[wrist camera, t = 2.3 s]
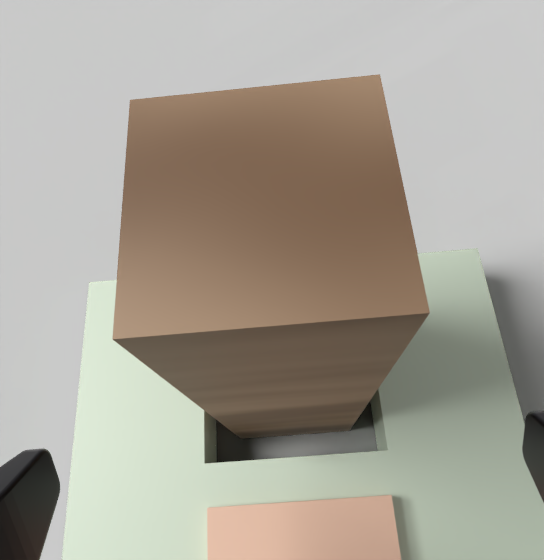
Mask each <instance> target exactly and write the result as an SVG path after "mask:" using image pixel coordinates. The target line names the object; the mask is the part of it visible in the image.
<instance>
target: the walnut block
mask: <svg viewBox="0 0 544 560" xmlns="http://www.w3.org/2000/svg"><path fill="white" fill-rule="evenodd" d="M429 314H430V311H429V306H428V301H427V296H426V292H425V287H424V282H423V277H422V273H421V268H420V263H419V258H418V254H417V249H416V244H415V239H414V235H413V230H412V225H411V220H410V216H409V211H408V206H407V201H406V197H405V192H404V187H403V182H402V178H401V173H400V168H399V163H398V158H397V154H396V149H395V144H394V139H393V135H392V130H391V125H390V120H389V116H388V111H387V106H386V101H385V97H384V92H383V87H382V82H381V78H380V75H370V76H361V77H351V78H341V79H331V80H321V81H312V82H302V83H292V84H282V85H272V86H263V87H253V88H243V89H233V90H223V91H214V92H204V93H194V94H184V95H174V96H165V97H155V98H145V99H135V100H130V108H129V121H128V135H127V148H126V162H125V175H124V189H123V202H122V216H121V229H120V243H119V256H118V270H117V283H116V297H115V311H114V324H113V338H112V339H113V340H114V341H115V342H116V343H118V344H119V345H120V346H122V347H123V348H124V349H126V350H127V351H128V352H129V353H131V354H132V355H133V356H135V357H136V358H137V359H138V360H140V361H141V362H142V363H144V364H145V365H146V366H147V367H149V368H150V369H151V370H153V371H154V372H155V373H157V374H158V375H159V376H160V377H162V378H163V379H164V380H166V381H167V382H168V383H169V384H171V385H172V386H173V387H175V388H176V389H177V390H179V391H180V392H181V393H182V394H184V395H185V396H186V397H188V398H189V399H190V400H191V401H193V402H194V403H195V404H197V405H198V406H199V407H200V408H202V409H203V410H204V411H206V412H207V413H208V414H210V415H211V416H212V417H213V418H215V419H216V420H217V421H219V422H220V423H221V424H222V425H224V426H225V427H226V428H228V429H229V430H230V431H232V432H233V433H234V434H235V435H237V436H238V437H239V438H241V439H245V438H258V437H272V436H285V435H299V434H312V433H325V432H339V431H350V429H351V428H352V426H353V425H354V423H355V422H356V420H357V419H358V417H359V416H360V415H361V413H362V412H363V410H364V409H365V407H366V406H367V404H368V403H369V401H370V400H371V398H372V397H373V396H374V394H375V393H376V391H377V390H378V388H379V387H380V385H381V384H382V382H383V381H384V379H385V378H386V377H387V375H388V374H389V372H390V371H391V369H392V368H393V366H394V365H395V363H396V362H397V360H398V359H399V357H400V356H401V355H402V353H403V352H404V350H405V349H406V347H407V346H408V344H409V343H410V341H411V340H412V338H413V337H414V336H415V334H416V333H417V331H418V330H419V328H420V327H421V325H422V324H423V322H424V321H425V319H426V318H427V317H428V315H429Z"/></svg>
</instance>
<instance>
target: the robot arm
mask: <svg viewBox="0 0 544 560" xmlns="http://www.w3.org/2000/svg"><path fill="white" fill-rule="evenodd" d="M522 452H523V457H524V460H525V463H526V465H527V467H528V469H529V472H530V474H531V476H532V478H533V481H534V483H535V485H536V487H537V489H538V492H539V494H540V496H541V498H542V500H543V503H544V411H535V412H530V413H528V414H527V416H526V420H525V428H524V436H523V445H522ZM59 493H60V482H59V478H58V475H57V472H56V469H55V466H54V463H53V460H52V457H51V454H50V452H49V451H48V450H46V449H33V450H25V451H23V452H21V453H20V454H18V455H17V456H16V457H14V458H13V459H11V460H10V461H8V462H7V463H5V464H4V465H3V466H1V467H0V560H39V559H40V556H41V553H42V550H43V546H44V543H45V540H46V536H47V533H48V530H49V527H50V523H51V520H52V517H53V513H54V510H55V507H56V504H57V500H58V497H59Z"/></svg>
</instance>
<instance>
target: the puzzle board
mask: <svg viewBox="0 0 544 560" xmlns="http://www.w3.org/2000/svg"><path fill="white" fill-rule="evenodd" d="M418 258H419V263H420V268H421V273H422V277H423V282H424V287H425V292H426V296H427V301H428V306H429V311H430V314H429V315H428V317H427V318H426V319H425V321H424V322H423V324H422V325H421V327H420V328H419V330H418V331H417V333H416V334H415V336H414V337H413V338H412V340H411V341H410V343H409V344H408V346H407V347H406V349H405V350H404V352H403V353H402V355H401V356H400V357H399V359H398V360H397V362H396V363H395V365H394V366H393V368H392V369H391V371H390V372H389V374H388V375H387V377H386V378H385V379H384V381H383V382H382V384H381V385H380V387H379V388H378V390H377V391H376V393H375V394H374V396H373V397H372V398H371V400H370V402H371V409H372V415H373V422H374V429H375V436H376V443H377V450H378V451H371V452H357V453H343V454H330V455H316V456H302V457H288V458H275V459H261V460H247V461H233V462H220V463H217V444H216V419H215V418H213V417H212V416H211V415H210V414H208V413H207V412H206V411H204V410H203V409H202V408H200V407H199V406H198V405H197V404H195V403H194V402H193V401H191V400H190V399H189V398H188V397H186V396H185V395H184V394H182V393H181V392H180V391H179V390H177V389H176V388H175V387H173V386H172V385H171V384H169V383H168V382H167V381H166V380H164V379H163V378H162V377H160V376H159V375H158V374H157V373H155V372H154V371H153V370H151V369H150V368H149V367H147V366H146V365H145V364H144V363H142V362H141V361H140V360H138V359H137V358H136V357H135V356H133V355H132V354H131V353H129V352H128V351H127V350H126V349H124V348H123V347H122V346H120V345H119V344H118V343H116V342H115V341H114V340H113V339H112V338H113V324H114V311H115V297H116V283H117V280H111V281H100V282H89V290H88V300H87V310H86V320H85V330H84V340H83V350H82V360H81V370H80V380H79V390H78V400H77V410H76V420H75V430H74V441H73V451H72V461H71V471H70V481H69V491H68V501H67V511H66V521H65V531H64V541H63V551H62V560H544V503H543V500H542V498H541V496H540V494H539V492H538V489H537V487H536V485H535V483H534V481H533V478H532V476H531V474H530V472H529V469H528V467H527V465H526V463H525V460H524V457H523V452H522V445H523V436H524V428H525V423H524V419H523V416H522V412H521V408H520V405H519V401H518V397H517V393H516V390H515V386H514V382H513V379H512V375H511V371H510V367H509V364H508V360H507V356H506V352H505V349H504V345H503V341H502V338H501V334H500V330H499V326H498V323H497V319H496V315H495V312H494V308H493V304H492V300H491V297H490V293H489V289H488V286H487V282H486V278H485V274H484V271H483V267H482V263H481V259H480V256H479V252H478V248H476V249H465V250H453V251H442V252H430V253H419V254H418Z"/></svg>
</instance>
